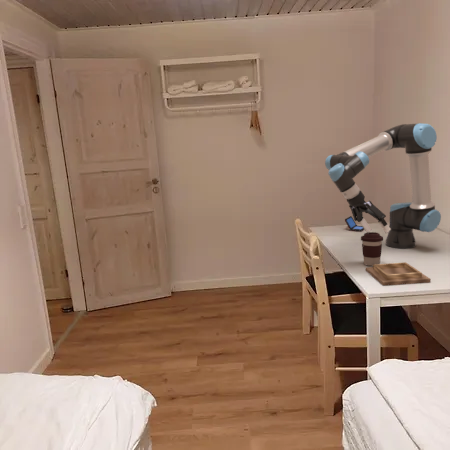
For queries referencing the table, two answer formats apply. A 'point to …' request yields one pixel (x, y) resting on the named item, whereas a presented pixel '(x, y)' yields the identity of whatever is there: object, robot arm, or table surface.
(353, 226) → the handheld game console
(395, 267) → the cup rack
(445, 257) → the table surface
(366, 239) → the coffee cup
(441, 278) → the table surface
